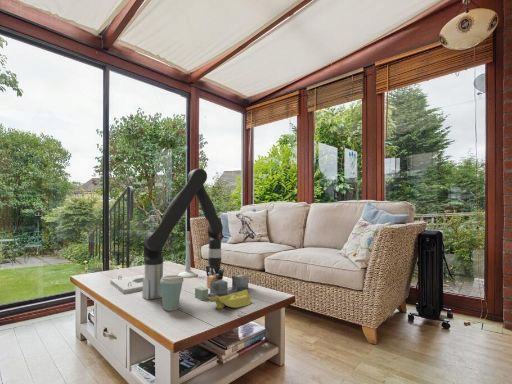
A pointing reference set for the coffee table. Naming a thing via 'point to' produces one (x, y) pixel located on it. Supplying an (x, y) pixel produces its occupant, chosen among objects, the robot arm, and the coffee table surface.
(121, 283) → the mounting panel
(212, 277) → the orange module
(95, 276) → the coffee table surface
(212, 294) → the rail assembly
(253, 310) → the coffee table surface
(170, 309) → the disposable coffee cup
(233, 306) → the plastic component
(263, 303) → the coffee table surface
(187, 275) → the candlestick
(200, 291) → the green block
